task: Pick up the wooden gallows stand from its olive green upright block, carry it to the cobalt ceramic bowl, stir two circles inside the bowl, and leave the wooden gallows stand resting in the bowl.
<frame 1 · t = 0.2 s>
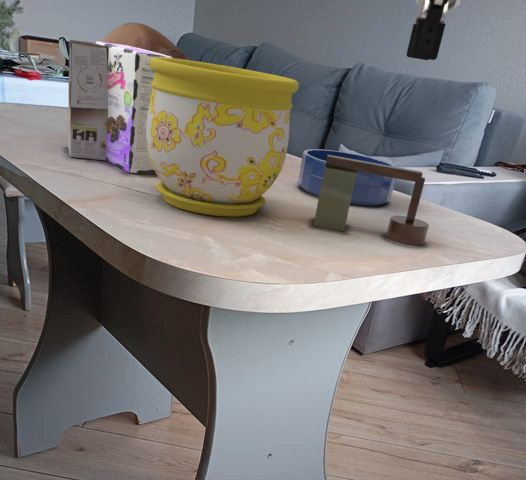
hand: (420, 58, 79), 21 cm above the table, tool pointing down, fingers open, 9 cm apart
flowerpot: (210, 205, 81), on the table
wooden gallows stand: (405, 239, 80), on the table
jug: (157, 145, 116), on the table
olive green upright block: (329, 224, 81), on the table
candy box: (126, 164, 96), on the table, touching coffee box
coffee box: (88, 155, 98), on the table, touching candy box
bowl: (343, 194, 101), on the table
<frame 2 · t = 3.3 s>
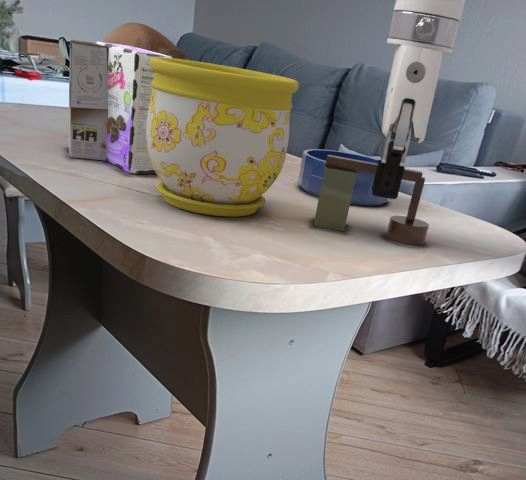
hand: (384, 194, 78), 5 cm above the table, tool pointing down, fingers closed on wooden gallows stand
wooden gallows stand: (405, 239, 80), on the table, touching gripper
everything else where it was.
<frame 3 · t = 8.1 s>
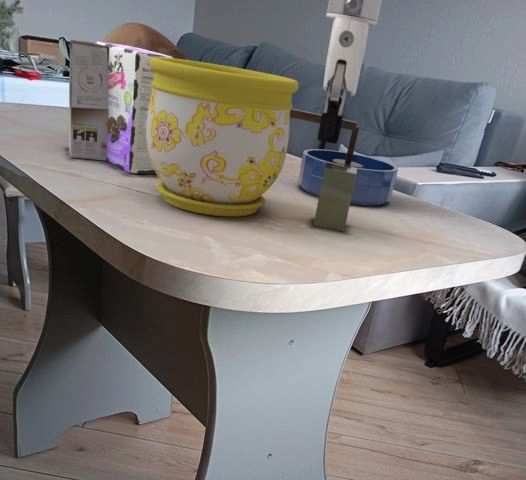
hand: (327, 140, 98), 8 cm above the table, tool pointing down, fingers closed on wooden gallows stand
wooden gallows stand: (344, 177, 100), point 3 cm above the table, touching gripper
everything else where it was.
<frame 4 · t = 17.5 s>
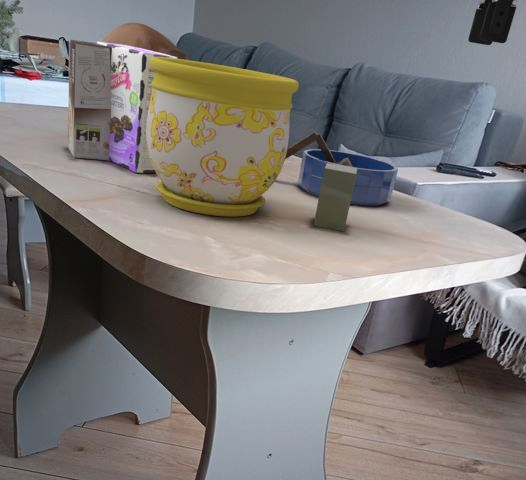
hand: (485, 42, 80), 24 cm above the table, tool pointing down, fingers open, 9 cm apart
wooden gallows stand: (341, 179, 100), point 2 cm above the table, tilted 41°, touching bowl
at the end: wooden gallows stand inside the target area in the bowl (0.8 cm from its centre), point 2.2 cm above the bowl's base; wooden gallows stand moved 24.2 cm from its start; the gripper is holding nothing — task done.
